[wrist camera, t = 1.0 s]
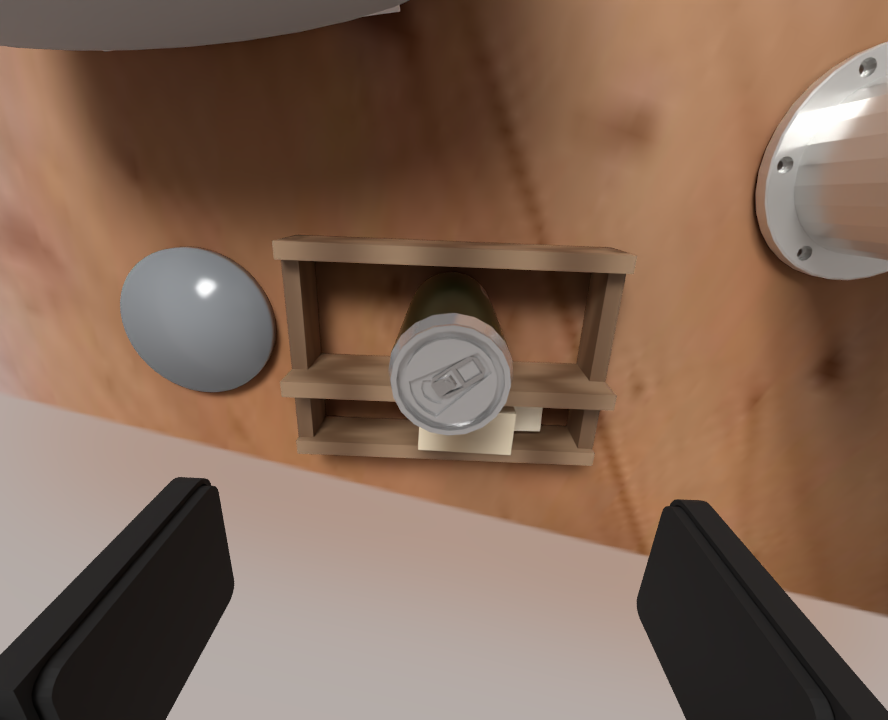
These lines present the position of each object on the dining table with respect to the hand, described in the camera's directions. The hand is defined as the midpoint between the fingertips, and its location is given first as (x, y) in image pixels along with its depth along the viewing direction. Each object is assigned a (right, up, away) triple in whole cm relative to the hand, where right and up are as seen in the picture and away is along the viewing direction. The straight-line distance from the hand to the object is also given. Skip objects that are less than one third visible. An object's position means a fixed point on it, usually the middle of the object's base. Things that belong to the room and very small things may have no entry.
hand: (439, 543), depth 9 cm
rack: (0, +4, +20) cm, 21 cm away
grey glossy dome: (-17, +7, +20) cm, 27 cm away
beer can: (+1, +7, +20) cm, 21 cm away
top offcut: (+2, 0, +20) cm, 20 cm away
